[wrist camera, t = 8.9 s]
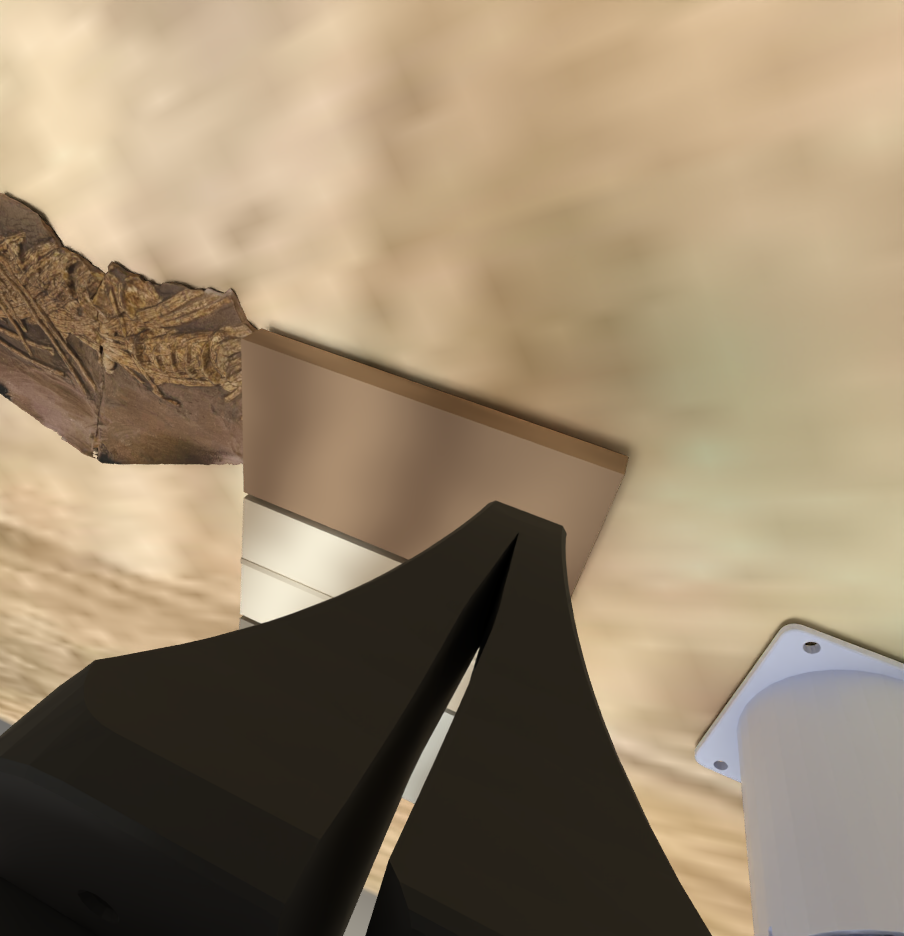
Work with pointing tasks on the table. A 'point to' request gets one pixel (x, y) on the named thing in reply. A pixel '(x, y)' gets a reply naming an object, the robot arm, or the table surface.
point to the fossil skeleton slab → (117, 353)
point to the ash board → (305, 566)
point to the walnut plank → (406, 454)
